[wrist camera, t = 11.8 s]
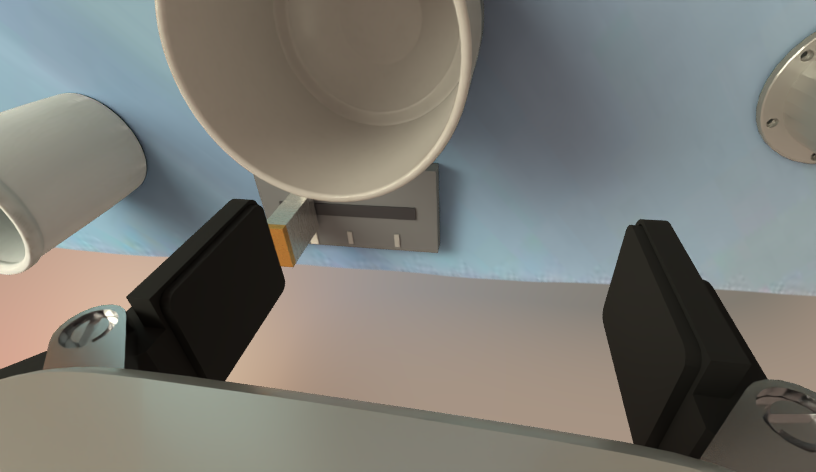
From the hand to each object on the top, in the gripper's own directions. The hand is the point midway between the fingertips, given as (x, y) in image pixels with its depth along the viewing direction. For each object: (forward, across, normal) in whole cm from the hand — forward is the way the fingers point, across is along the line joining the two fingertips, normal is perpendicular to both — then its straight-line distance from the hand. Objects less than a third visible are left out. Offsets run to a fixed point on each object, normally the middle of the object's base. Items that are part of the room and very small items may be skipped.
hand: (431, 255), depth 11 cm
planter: (+34, +10, -2) cm, 35 cm away
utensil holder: (+34, +50, +12) cm, 61 cm away
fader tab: (+31, +21, +18) cm, 41 cm away
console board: (+33, +16, +18) cm, 41 cm away
